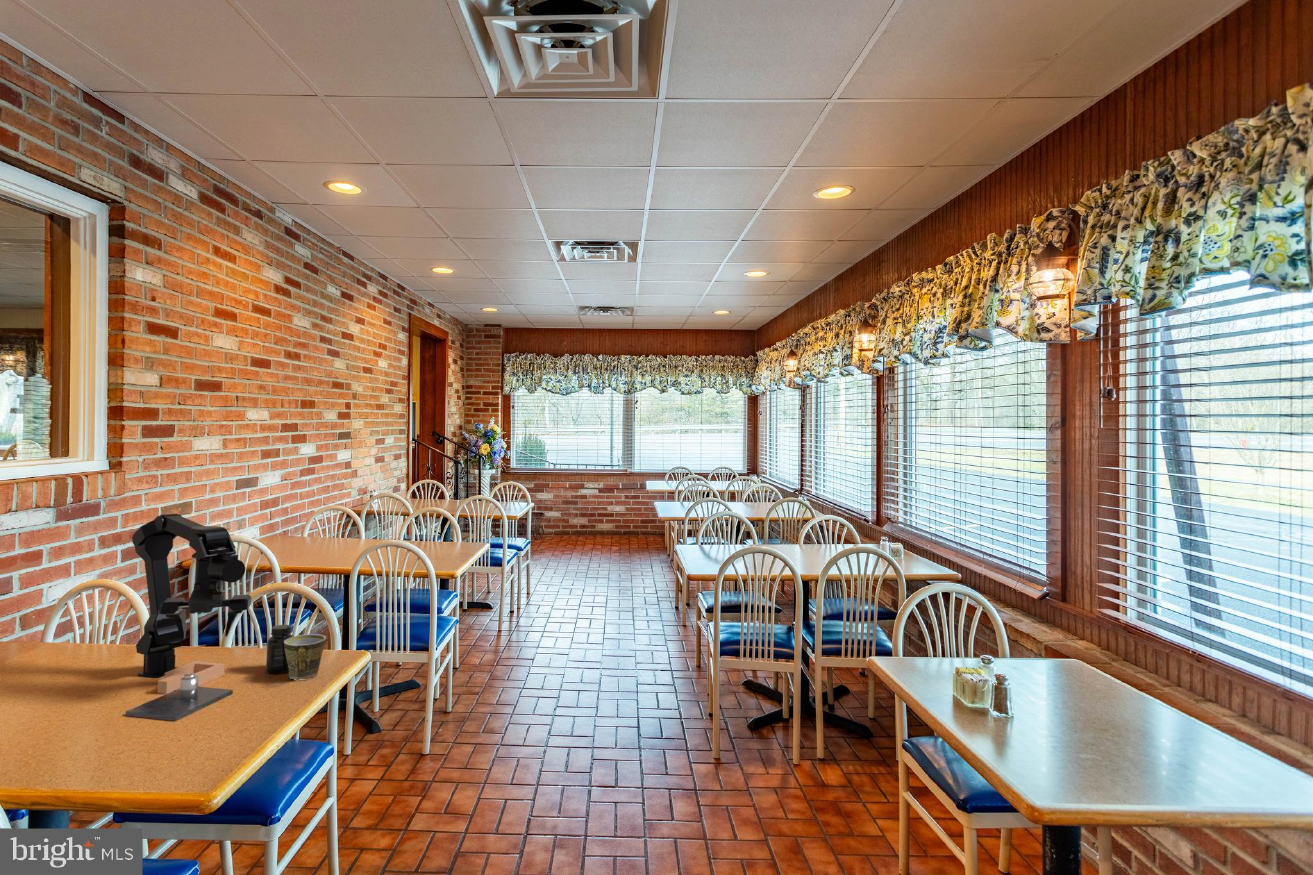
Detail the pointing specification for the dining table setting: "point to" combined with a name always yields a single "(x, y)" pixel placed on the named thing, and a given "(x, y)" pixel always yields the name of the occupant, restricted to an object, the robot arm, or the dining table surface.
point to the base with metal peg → (180, 701)
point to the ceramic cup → (304, 655)
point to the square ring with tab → (201, 669)
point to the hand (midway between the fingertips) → (205, 637)
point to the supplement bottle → (277, 649)
